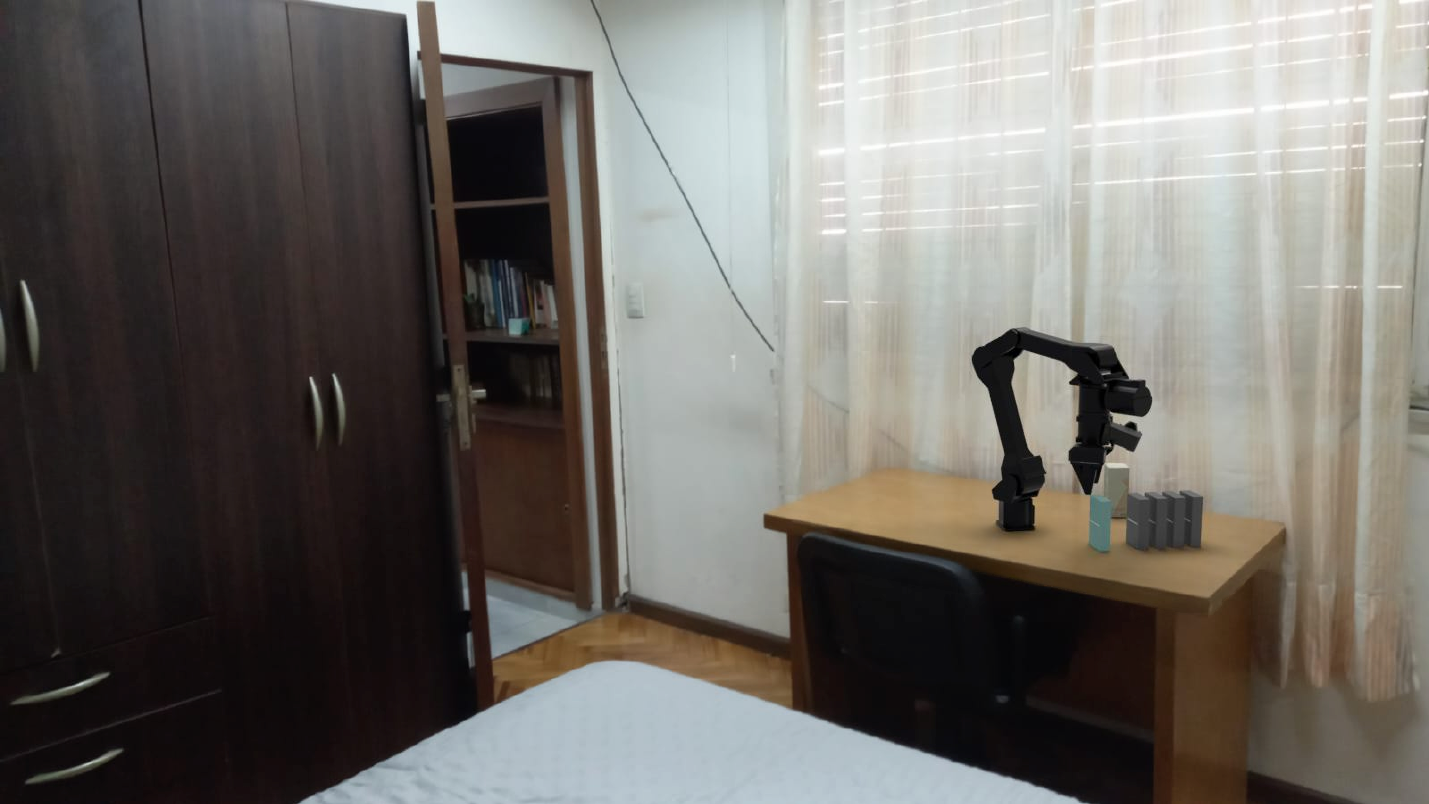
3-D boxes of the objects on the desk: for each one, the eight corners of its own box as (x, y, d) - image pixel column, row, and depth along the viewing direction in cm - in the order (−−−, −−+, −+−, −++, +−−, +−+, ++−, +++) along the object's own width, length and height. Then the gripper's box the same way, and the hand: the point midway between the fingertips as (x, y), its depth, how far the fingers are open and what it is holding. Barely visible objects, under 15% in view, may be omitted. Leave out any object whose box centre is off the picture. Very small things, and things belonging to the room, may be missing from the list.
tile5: (1190, 547, 186) (1192, 497, 184) (1177, 539, 191) (1179, 490, 189) (1201, 546, 186) (1203, 496, 184) (1187, 538, 191) (1189, 490, 189)
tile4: (1173, 547, 186) (1175, 498, 184) (1160, 540, 191) (1161, 491, 189) (1183, 547, 186) (1185, 497, 184) (1170, 539, 191) (1172, 491, 189)
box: (1128, 518, 206) (1130, 468, 204) (1107, 517, 207) (1108, 467, 205) (1123, 511, 211) (1124, 462, 209) (1102, 511, 212) (1104, 462, 210)
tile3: (1155, 548, 185) (1157, 498, 184) (1142, 541, 190) (1144, 492, 189) (1165, 548, 186) (1167, 498, 184) (1153, 540, 190) (1154, 491, 189)
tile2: (1137, 549, 185) (1139, 499, 184) (1125, 541, 190) (1127, 493, 189) (1148, 549, 185) (1149, 499, 184) (1135, 541, 190) (1137, 492, 189)
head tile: (1099, 551, 185) (1101, 501, 183) (1088, 543, 190) (1090, 494, 188) (1110, 551, 185) (1111, 501, 184) (1098, 543, 190) (1100, 494, 188)
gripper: (1134, 421, 171) (1131, 505, 174) (1144, 404, 187) (1141, 481, 190) (1068, 417, 177) (1066, 499, 179) (1084, 401, 193) (1082, 476, 195)
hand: (1091, 488), depth 186 cm, fingers open, 9 cm apart
